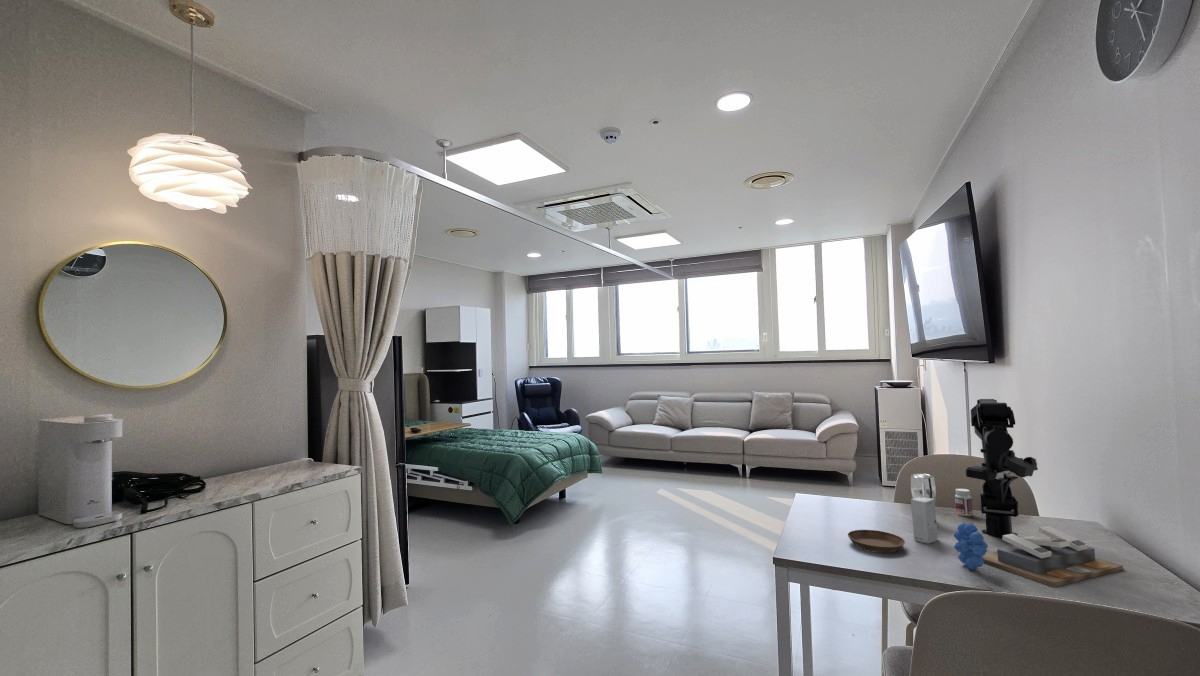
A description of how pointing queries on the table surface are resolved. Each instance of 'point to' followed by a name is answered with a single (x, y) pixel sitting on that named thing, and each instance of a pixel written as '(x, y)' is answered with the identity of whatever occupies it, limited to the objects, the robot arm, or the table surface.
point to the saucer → (876, 540)
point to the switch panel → (1051, 578)
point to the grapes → (970, 545)
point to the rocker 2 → (1063, 537)
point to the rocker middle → (1047, 541)
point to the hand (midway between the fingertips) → (1001, 501)
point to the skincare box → (924, 520)
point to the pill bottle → (963, 502)
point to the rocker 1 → (1027, 545)
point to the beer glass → (923, 486)
